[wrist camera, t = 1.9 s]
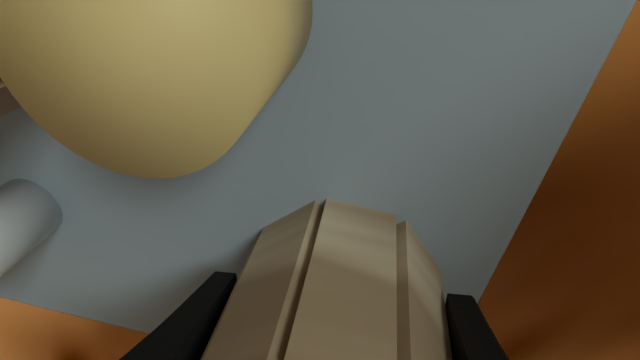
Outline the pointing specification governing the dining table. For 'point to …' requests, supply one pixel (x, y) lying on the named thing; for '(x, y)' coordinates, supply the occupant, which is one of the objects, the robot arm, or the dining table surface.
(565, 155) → the dining table surface
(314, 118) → the gear board
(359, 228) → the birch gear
